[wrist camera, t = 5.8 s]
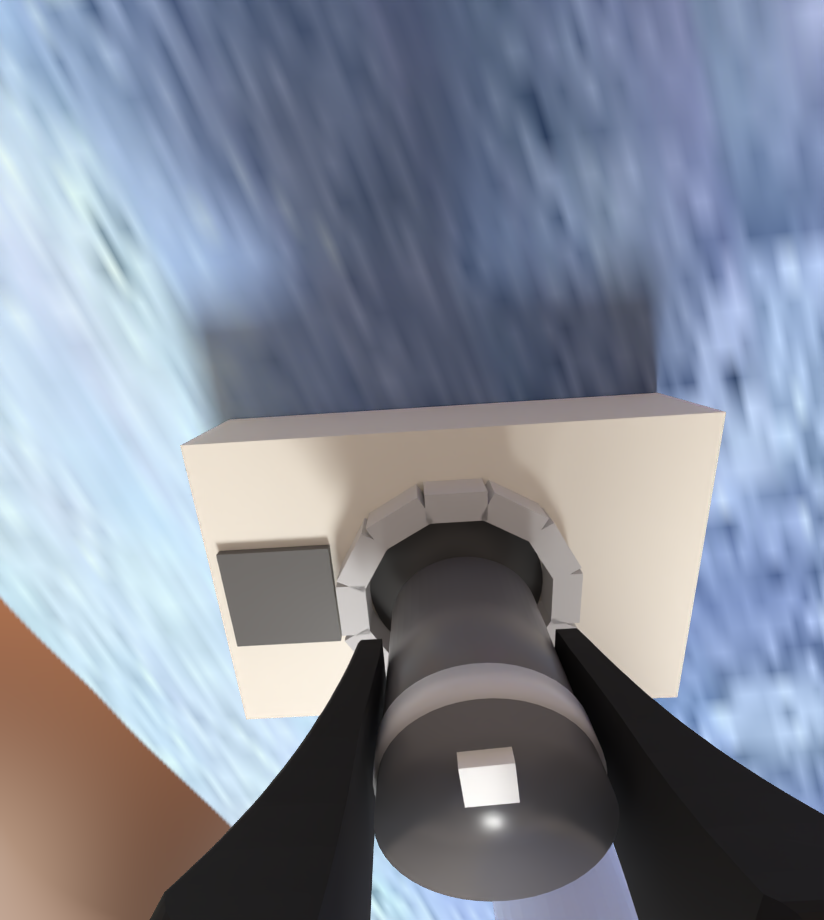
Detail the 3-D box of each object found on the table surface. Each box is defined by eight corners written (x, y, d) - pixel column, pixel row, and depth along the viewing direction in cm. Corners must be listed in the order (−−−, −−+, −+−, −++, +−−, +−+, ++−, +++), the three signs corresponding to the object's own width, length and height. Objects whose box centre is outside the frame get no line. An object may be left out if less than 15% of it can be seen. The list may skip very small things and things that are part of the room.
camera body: (629, 630, 21) (695, 723, 16) (275, 649, 22) (235, 746, 17) (657, 392, 18) (754, 419, 13) (229, 419, 18) (160, 456, 13)
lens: (544, 670, 15) (631, 913, 9) (402, 686, 15) (391, 931, 9) (534, 543, 13) (632, 734, 7) (376, 564, 13) (341, 763, 7)
